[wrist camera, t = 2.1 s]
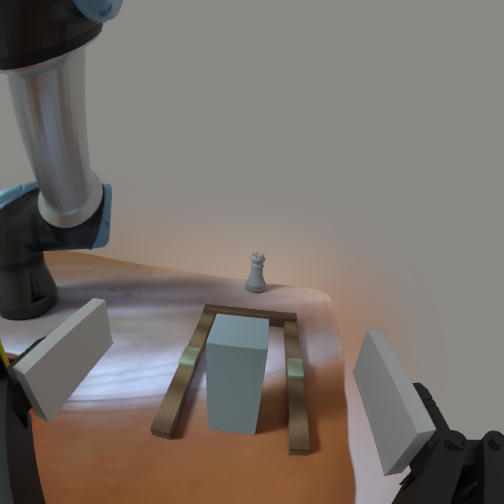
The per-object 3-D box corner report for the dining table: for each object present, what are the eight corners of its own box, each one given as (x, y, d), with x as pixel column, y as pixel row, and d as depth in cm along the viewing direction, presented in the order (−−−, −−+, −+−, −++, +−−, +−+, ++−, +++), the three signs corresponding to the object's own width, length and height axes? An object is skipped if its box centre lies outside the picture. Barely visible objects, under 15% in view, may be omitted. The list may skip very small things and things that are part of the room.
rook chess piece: (240, 287, 62) (243, 252, 60) (256, 283, 65) (259, 250, 63) (253, 295, 59) (257, 258, 56) (269, 290, 62) (273, 255, 59)
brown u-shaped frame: (307, 455, 22) (311, 446, 22) (152, 434, 23) (149, 425, 23) (294, 322, 49) (296, 313, 49) (205, 312, 50) (206, 303, 49)
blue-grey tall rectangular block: (254, 434, 25) (267, 349, 22) (207, 428, 25) (206, 342, 22) (257, 403, 30) (269, 319, 26) (215, 398, 30) (216, 313, 27)
